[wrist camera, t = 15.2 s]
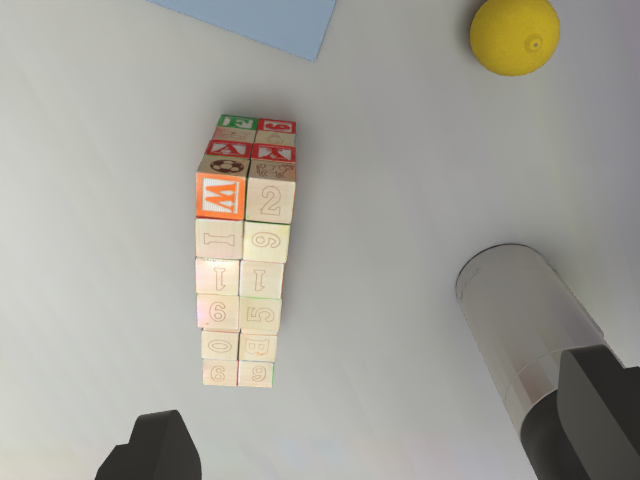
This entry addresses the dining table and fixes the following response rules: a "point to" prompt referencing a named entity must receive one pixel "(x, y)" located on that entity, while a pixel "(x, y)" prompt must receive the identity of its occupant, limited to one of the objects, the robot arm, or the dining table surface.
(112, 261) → the dining table surface
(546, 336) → the robot arm
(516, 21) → the lemon
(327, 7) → the light blue board
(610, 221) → the dining table surface
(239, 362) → the stack of blocks
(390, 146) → the dining table surface
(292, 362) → the dining table surface
